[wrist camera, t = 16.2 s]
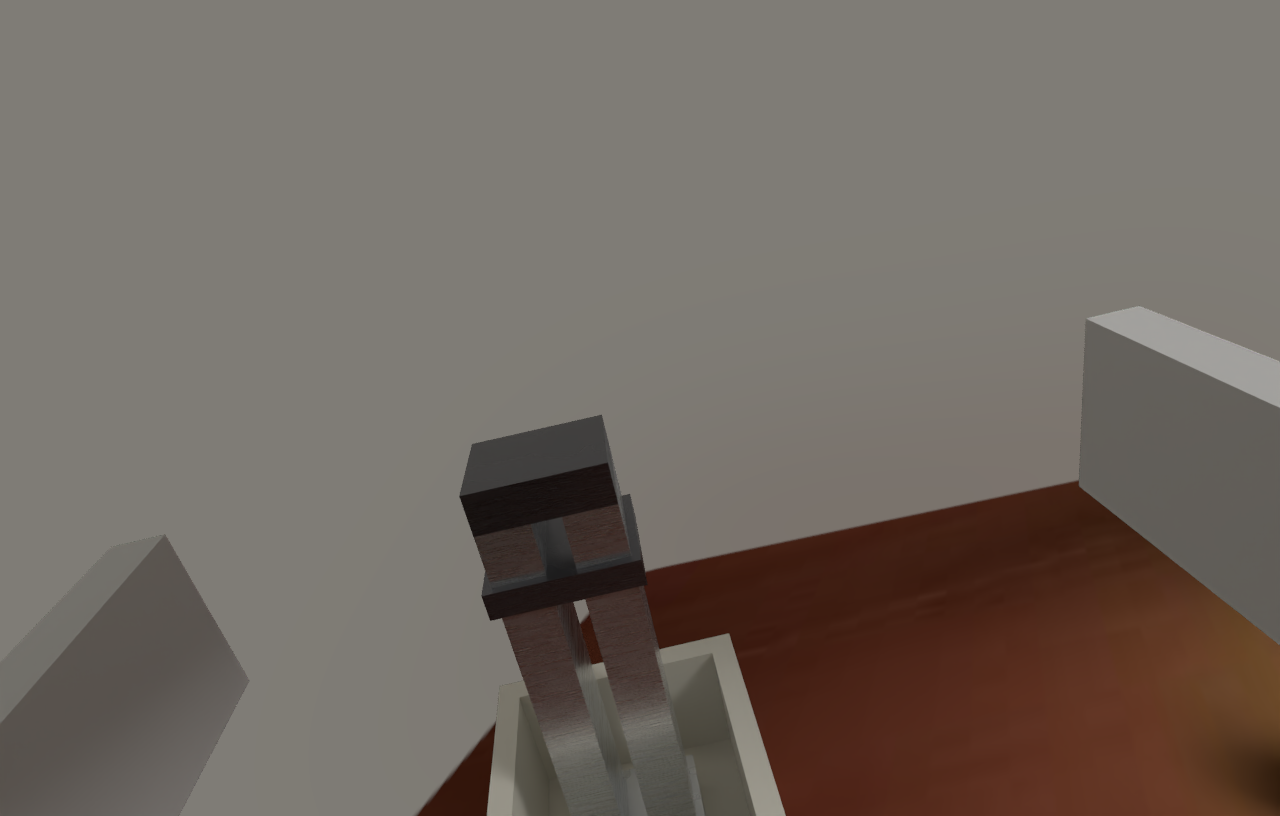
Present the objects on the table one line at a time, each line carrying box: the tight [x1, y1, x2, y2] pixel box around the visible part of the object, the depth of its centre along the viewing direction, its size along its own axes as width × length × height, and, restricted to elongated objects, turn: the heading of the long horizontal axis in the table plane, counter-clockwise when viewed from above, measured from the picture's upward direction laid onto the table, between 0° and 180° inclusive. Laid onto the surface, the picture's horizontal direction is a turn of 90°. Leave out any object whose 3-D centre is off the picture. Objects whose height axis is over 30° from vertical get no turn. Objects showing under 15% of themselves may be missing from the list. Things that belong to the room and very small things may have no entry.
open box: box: [487, 633, 786, 816], centre depth 31 cm, size 11×11×6 cm
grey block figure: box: [460, 415, 706, 816], centre depth 28 cm, size 5×5×20 cm
